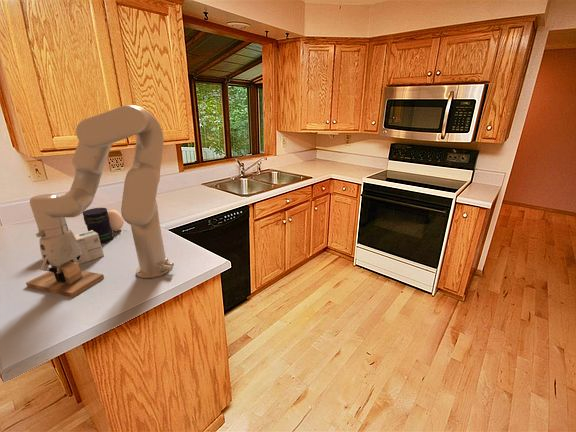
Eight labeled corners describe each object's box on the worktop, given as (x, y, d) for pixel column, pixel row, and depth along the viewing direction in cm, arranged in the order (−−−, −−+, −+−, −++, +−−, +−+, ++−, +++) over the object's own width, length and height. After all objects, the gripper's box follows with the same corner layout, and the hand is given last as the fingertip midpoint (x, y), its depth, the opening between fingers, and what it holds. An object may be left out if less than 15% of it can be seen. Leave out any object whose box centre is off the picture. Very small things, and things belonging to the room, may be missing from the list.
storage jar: (94, 246, 132) (85, 216, 127) (87, 240, 138) (79, 211, 133) (117, 239, 139) (110, 210, 134) (110, 234, 145) (103, 206, 140)
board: (104, 278, 107) (103, 274, 106) (73, 297, 96) (72, 293, 96) (60, 269, 113) (59, 266, 113) (27, 286, 102) (25, 282, 102)
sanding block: (82, 277, 105) (78, 262, 102) (70, 284, 100) (66, 269, 98) (68, 274, 106) (63, 260, 104) (55, 281, 102) (50, 266, 100)
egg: (123, 232, 147) (118, 211, 143) (105, 234, 145) (100, 213, 141) (126, 227, 154) (121, 206, 150) (109, 229, 152) (104, 208, 148)
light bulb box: (98, 251, 127) (92, 229, 124) (104, 256, 123) (98, 233, 120) (70, 261, 120) (63, 237, 116) (75, 266, 116) (68, 241, 112)
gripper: (35, 242, 88) (52, 292, 95) (85, 223, 103) (97, 267, 110) (18, 239, 90) (36, 289, 97) (70, 220, 105) (82, 264, 112)
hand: (68, 277), depth 103 cm, fingers closed on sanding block, 4 cm apart
